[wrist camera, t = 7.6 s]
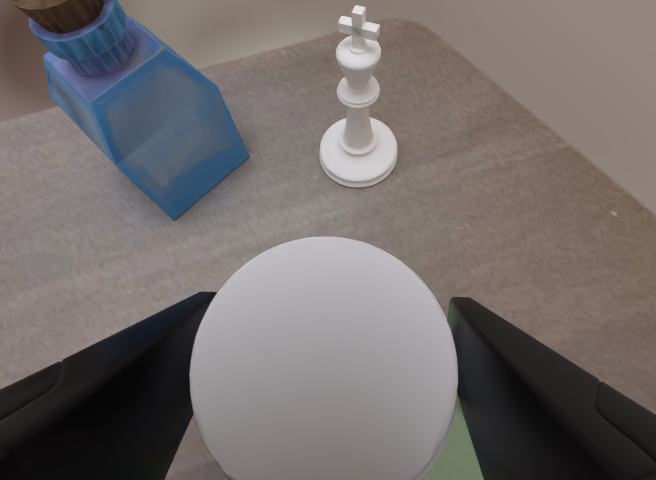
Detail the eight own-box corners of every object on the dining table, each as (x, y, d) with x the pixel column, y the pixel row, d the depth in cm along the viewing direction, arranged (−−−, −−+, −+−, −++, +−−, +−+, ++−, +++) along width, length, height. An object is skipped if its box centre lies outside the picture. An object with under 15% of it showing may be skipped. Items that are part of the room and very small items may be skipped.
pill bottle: (271, 473, 14) (106, 611, 5) (266, 320, 16) (144, 215, 7) (427, 458, 14) (561, 572, 5) (401, 305, 16) (459, 177, 7)
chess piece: (381, 198, 24) (396, 71, 14) (307, 173, 25) (276, 39, 15) (408, 134, 25) (438, -18, 16) (337, 113, 26) (326, -43, 17)
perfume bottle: (191, 105, 27) (75, -95, 16) (249, 156, 25) (164, -31, 14) (118, 162, 26) (-63, -13, 15) (174, 220, 24) (15, 70, 13)
